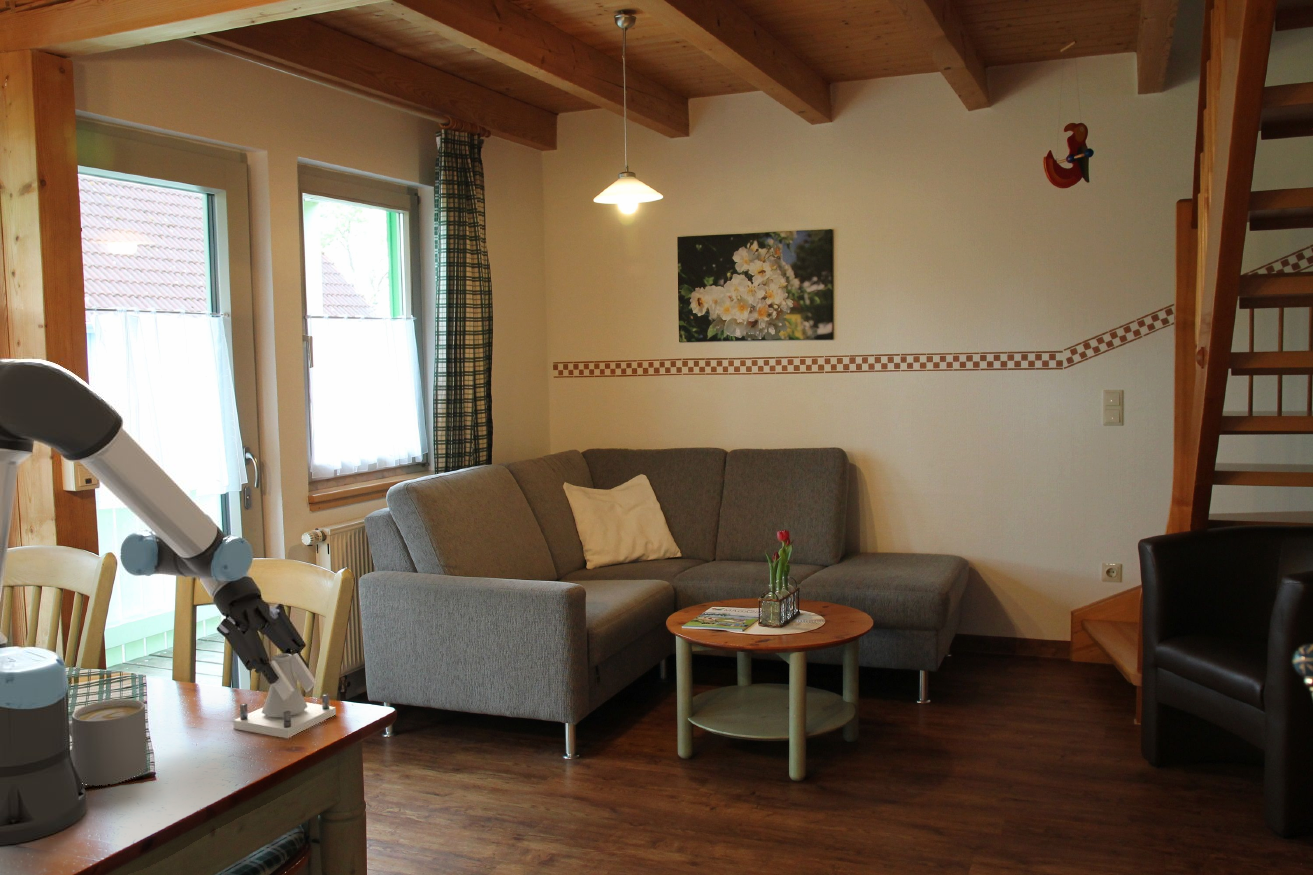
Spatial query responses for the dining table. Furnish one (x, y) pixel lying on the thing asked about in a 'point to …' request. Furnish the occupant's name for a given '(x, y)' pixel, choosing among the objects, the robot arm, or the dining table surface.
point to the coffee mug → (109, 741)
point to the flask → (274, 701)
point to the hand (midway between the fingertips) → (300, 690)
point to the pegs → (285, 714)
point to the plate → (276, 724)
